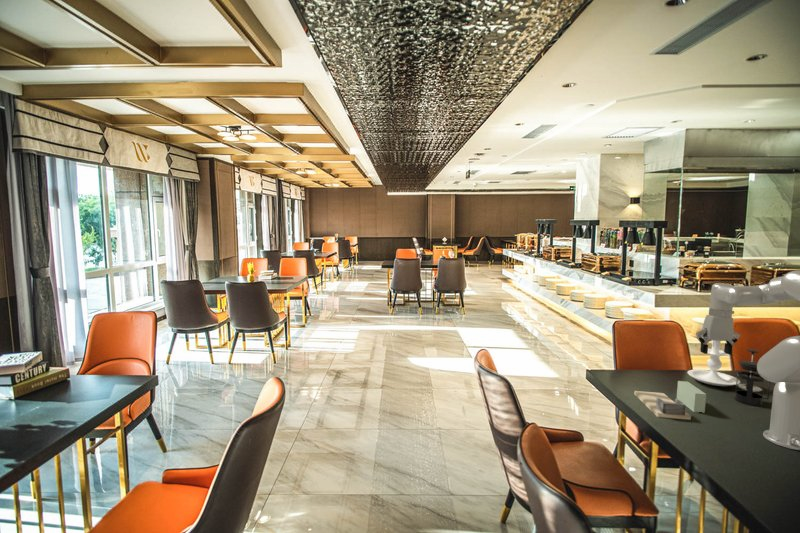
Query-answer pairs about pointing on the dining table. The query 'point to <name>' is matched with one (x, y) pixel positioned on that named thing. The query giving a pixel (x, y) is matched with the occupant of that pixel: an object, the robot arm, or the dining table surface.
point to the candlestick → (714, 369)
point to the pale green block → (691, 396)
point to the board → (663, 405)
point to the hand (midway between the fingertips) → (715, 353)
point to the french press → (750, 384)
